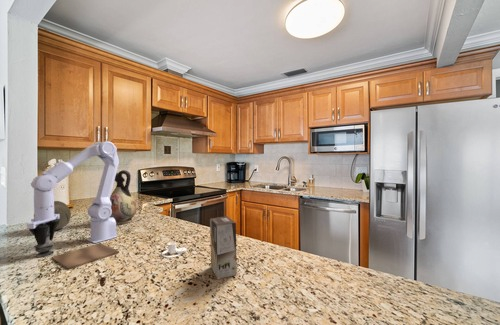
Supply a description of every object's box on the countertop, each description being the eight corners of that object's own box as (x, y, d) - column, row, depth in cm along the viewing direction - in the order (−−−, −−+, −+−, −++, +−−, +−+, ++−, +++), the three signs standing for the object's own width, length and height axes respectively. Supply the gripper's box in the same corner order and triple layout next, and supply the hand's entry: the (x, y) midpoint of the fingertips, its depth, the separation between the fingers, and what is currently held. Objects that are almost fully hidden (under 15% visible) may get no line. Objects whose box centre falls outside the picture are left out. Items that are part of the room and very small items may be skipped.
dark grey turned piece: (42, 257, 84) (42, 224, 84) (29, 256, 85) (29, 224, 85) (58, 251, 90) (58, 220, 90) (46, 250, 91) (46, 220, 91)
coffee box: (237, 275, 70) (237, 222, 69) (217, 279, 67) (216, 225, 67) (228, 262, 78) (227, 215, 78) (209, 266, 76) (209, 218, 75)
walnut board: (100, 244, 97) (100, 243, 97) (119, 252, 88) (119, 251, 88) (51, 258, 84) (51, 256, 84) (68, 269, 75) (68, 267, 75)
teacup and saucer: (189, 251, 89) (189, 241, 89) (174, 260, 82) (174, 249, 81) (172, 248, 92) (172, 238, 92) (156, 256, 85) (156, 245, 85)
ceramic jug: (99, 225, 125) (97, 170, 124) (119, 218, 140) (118, 169, 140) (127, 226, 122) (125, 170, 122) (144, 219, 137) (143, 169, 137)
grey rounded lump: (65, 224, 128) (65, 198, 127) (75, 229, 119) (74, 200, 119) (31, 231, 116) (30, 202, 116) (39, 236, 108) (38, 205, 108)
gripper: (45, 203, 94) (46, 236, 94) (16, 211, 79) (17, 250, 80) (64, 202, 95) (65, 235, 95) (39, 210, 81) (40, 248, 81)
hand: (45, 242), depth 88 cm, fingers closed on dark grey turned piece, 3 cm apart
